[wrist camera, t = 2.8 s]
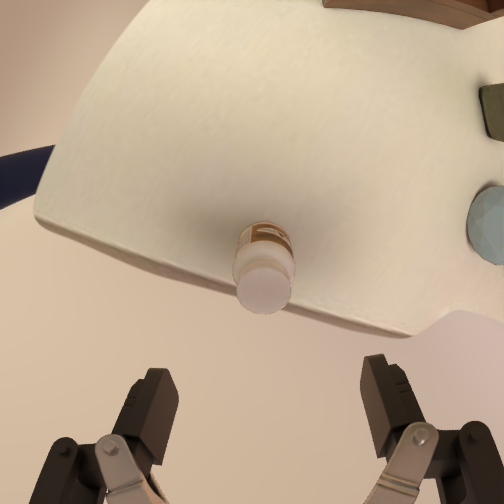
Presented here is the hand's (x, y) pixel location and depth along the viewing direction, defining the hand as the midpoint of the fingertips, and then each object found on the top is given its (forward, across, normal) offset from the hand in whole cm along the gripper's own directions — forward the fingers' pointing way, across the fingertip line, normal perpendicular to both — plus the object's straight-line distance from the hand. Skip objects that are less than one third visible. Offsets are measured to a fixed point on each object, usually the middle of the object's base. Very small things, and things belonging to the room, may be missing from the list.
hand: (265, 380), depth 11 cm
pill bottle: (+16, 0, 0) cm, 16 cm away
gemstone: (+16, -23, 0) cm, 28 cm away
